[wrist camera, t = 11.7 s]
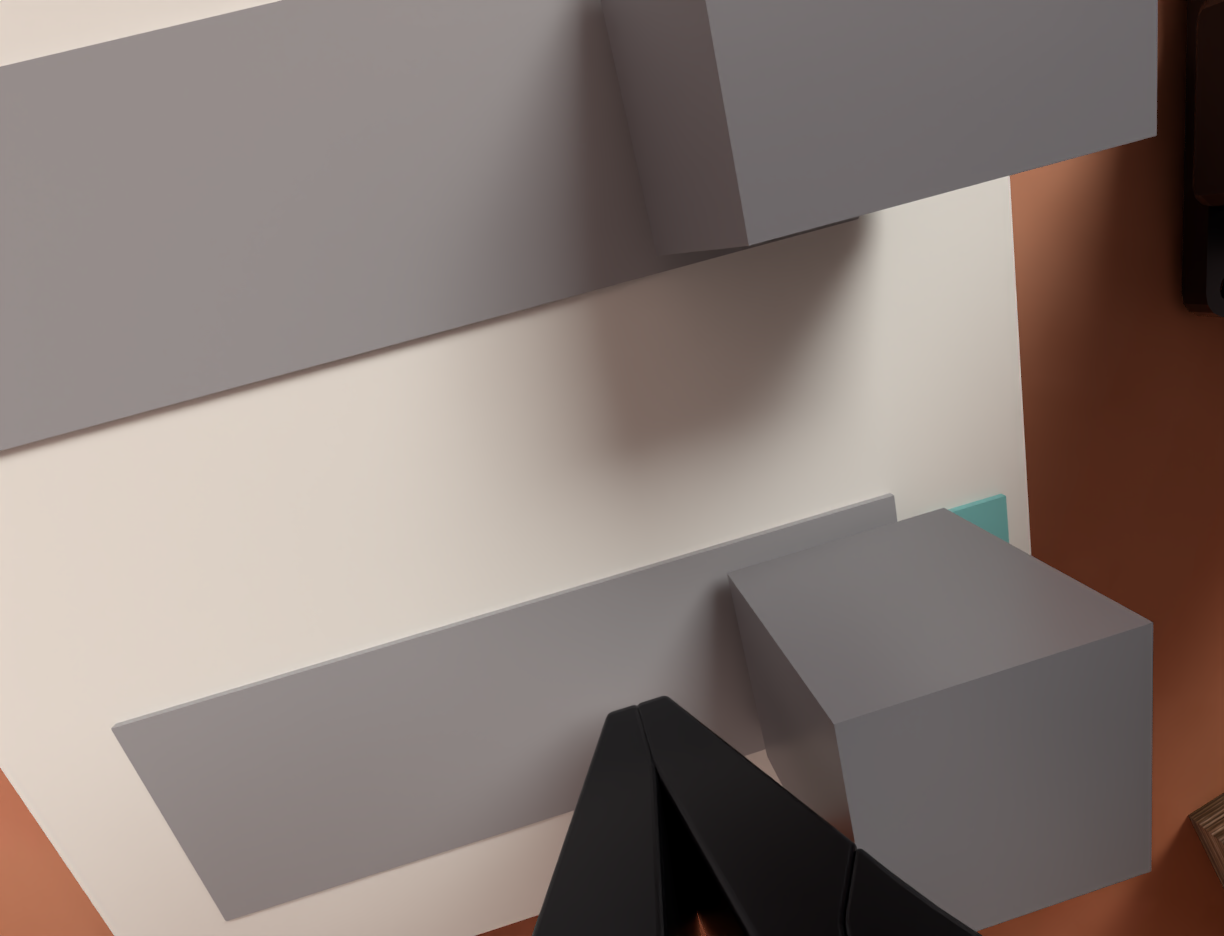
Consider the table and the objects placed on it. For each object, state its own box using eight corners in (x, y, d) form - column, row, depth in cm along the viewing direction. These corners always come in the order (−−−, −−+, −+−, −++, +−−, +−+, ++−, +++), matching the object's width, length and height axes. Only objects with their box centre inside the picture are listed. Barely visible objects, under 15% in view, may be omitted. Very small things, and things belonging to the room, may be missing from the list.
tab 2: (944, 507, 9) (1153, 622, 6) (962, 693, 10) (1151, 871, 7) (726, 573, 9) (834, 724, 6) (767, 756, 9) (876, 965, 7)
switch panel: (872, -237, 8) (984, -397, 6) (963, 678, 13) (1047, 753, 11) (-289, 24, 7) (-578, -64, 6) (233, 910, 12) (177, 1040, 10)
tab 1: (878, -133, 7) (1159, -443, 4) (911, 187, 7) (1156, 135, 5) (586, -63, 6) (645, -334, 4) (657, 255, 7) (749, 245, 4)
